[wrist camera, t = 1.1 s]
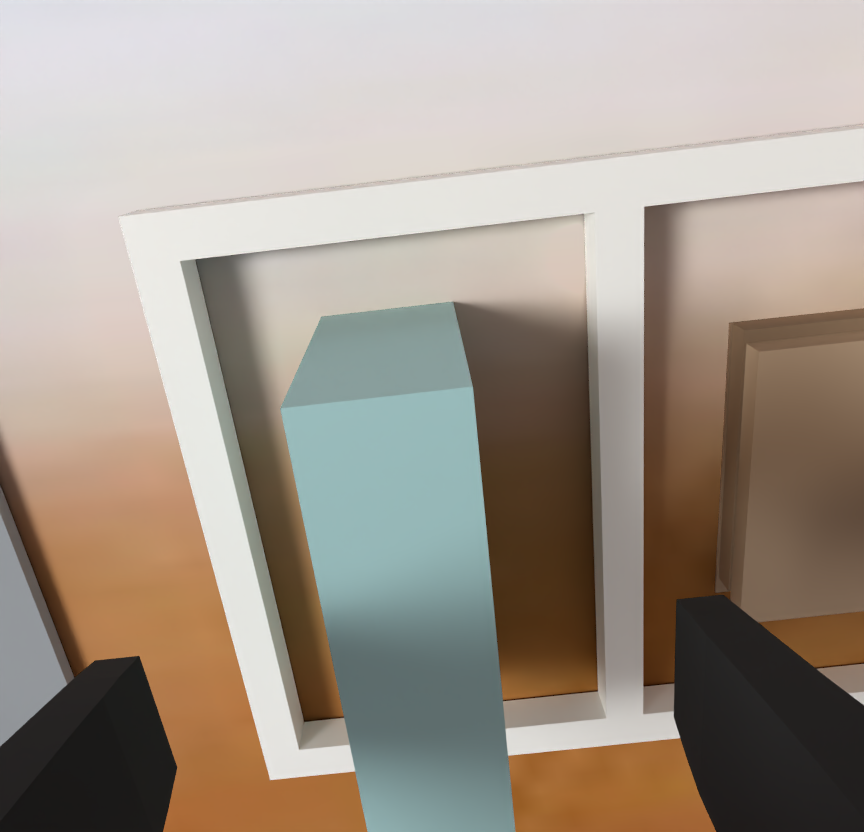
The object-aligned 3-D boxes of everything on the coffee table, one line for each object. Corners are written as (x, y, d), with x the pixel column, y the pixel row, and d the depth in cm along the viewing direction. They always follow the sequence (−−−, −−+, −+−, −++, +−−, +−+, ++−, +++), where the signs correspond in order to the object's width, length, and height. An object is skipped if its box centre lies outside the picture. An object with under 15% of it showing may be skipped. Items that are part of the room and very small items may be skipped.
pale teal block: (488, 649, 16) (515, 837, 12) (381, 660, 16) (372, 852, 12) (452, 300, 13) (473, 386, 9) (321, 314, 13) (280, 408, 9)
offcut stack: (868, 564, 16) (912, 605, 15) (706, 581, 16) (734, 624, 15) (908, 295, 14) (965, 315, 12) (719, 316, 14) (754, 338, 12)
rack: (961, 680, 17) (987, 706, 16) (276, 751, 17) (270, 779, 16) (1089, 97, 12) (1134, 96, 11) (135, 210, 12) (117, 216, 12)
